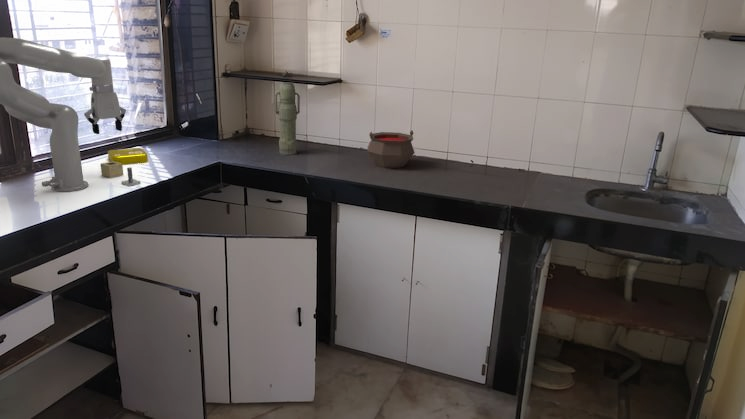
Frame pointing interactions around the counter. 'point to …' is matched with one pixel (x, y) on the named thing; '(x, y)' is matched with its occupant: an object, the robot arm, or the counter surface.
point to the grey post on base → (130, 179)
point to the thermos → (287, 118)
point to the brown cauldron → (391, 149)
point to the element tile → (128, 156)
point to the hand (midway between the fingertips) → (108, 132)
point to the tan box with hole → (111, 169)
